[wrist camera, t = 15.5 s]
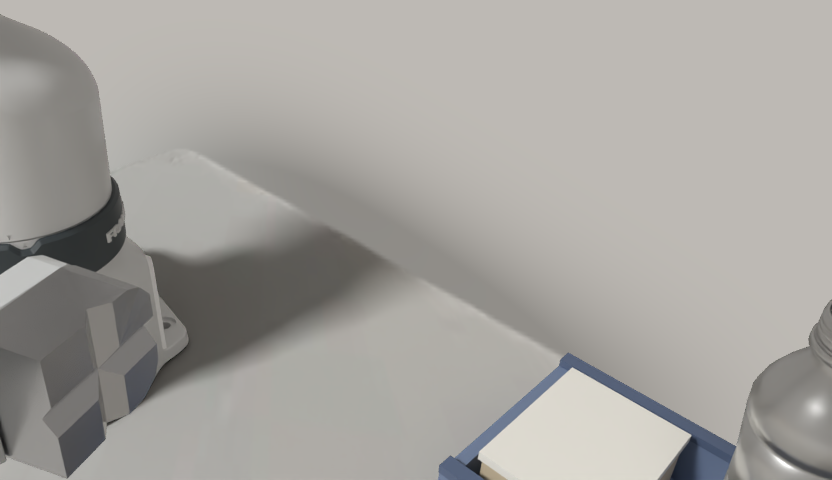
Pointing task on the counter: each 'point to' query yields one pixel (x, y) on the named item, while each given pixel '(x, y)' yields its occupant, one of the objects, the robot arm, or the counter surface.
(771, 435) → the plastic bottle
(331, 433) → the counter surface
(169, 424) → the counter surface
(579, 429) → the carton
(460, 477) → the tote
